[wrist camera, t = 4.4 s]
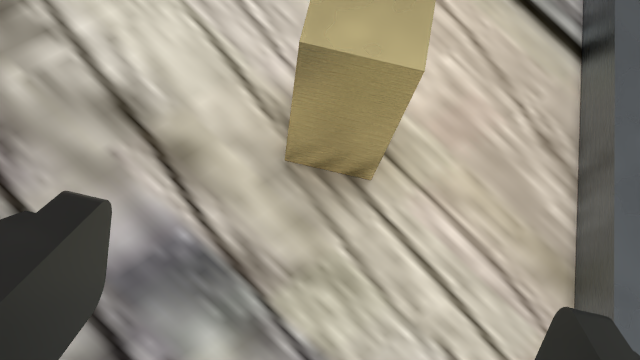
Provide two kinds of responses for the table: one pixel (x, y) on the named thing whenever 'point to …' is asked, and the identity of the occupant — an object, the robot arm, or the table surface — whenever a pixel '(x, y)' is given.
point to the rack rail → (610, 166)
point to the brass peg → (355, 80)
